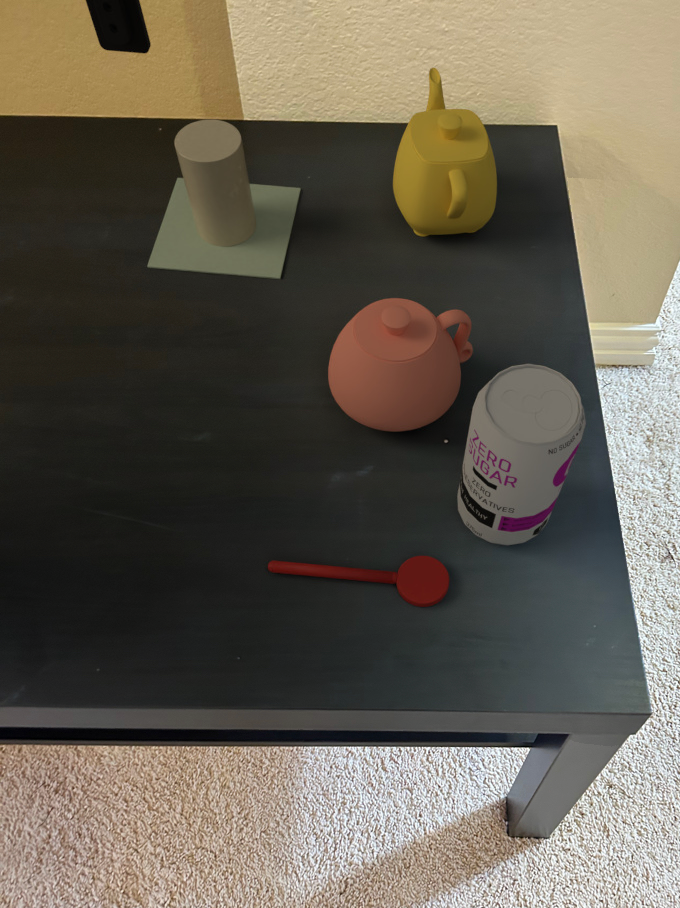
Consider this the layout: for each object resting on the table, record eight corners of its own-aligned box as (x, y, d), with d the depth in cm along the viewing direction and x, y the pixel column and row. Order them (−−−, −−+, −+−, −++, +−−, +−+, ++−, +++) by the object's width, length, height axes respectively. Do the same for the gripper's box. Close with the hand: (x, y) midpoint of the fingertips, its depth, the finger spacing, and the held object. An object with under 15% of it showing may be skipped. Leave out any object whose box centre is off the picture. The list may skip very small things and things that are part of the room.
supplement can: (558, 483, 68) (601, 375, 55) (535, 561, 64) (575, 465, 51) (472, 457, 69) (493, 344, 56) (444, 532, 65) (461, 431, 52)
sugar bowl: (312, 363, 73) (303, 283, 64) (444, 325, 76) (452, 243, 67) (356, 462, 68) (352, 390, 59) (495, 417, 71) (512, 342, 62)
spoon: (264, 592, 62) (262, 587, 61) (273, 545, 64) (271, 540, 63) (446, 609, 62) (447, 605, 61) (450, 561, 64) (451, 556, 63)
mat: (147, 267, 79) (146, 266, 78) (178, 179, 85) (177, 177, 85) (280, 279, 78) (280, 277, 78) (300, 189, 85) (300, 187, 85)
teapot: (382, 158, 88) (382, 64, 78) (475, 152, 89) (486, 58, 79) (403, 269, 80) (406, 179, 70) (505, 260, 80) (522, 171, 71)
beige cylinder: (191, 244, 80) (167, 158, 71) (203, 203, 83) (182, 116, 74) (250, 249, 80) (234, 164, 71) (261, 208, 83) (246, 122, 74)
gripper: (25, -441, 40) (124, -63, 55) (-105, -324, 32) (52, 79, 47) (165, -430, 40) (225, -55, 55) (69, -311, 32) (170, 89, 47)
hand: (145, 7), depth 51 cm, fingers open, 9 cm apart
